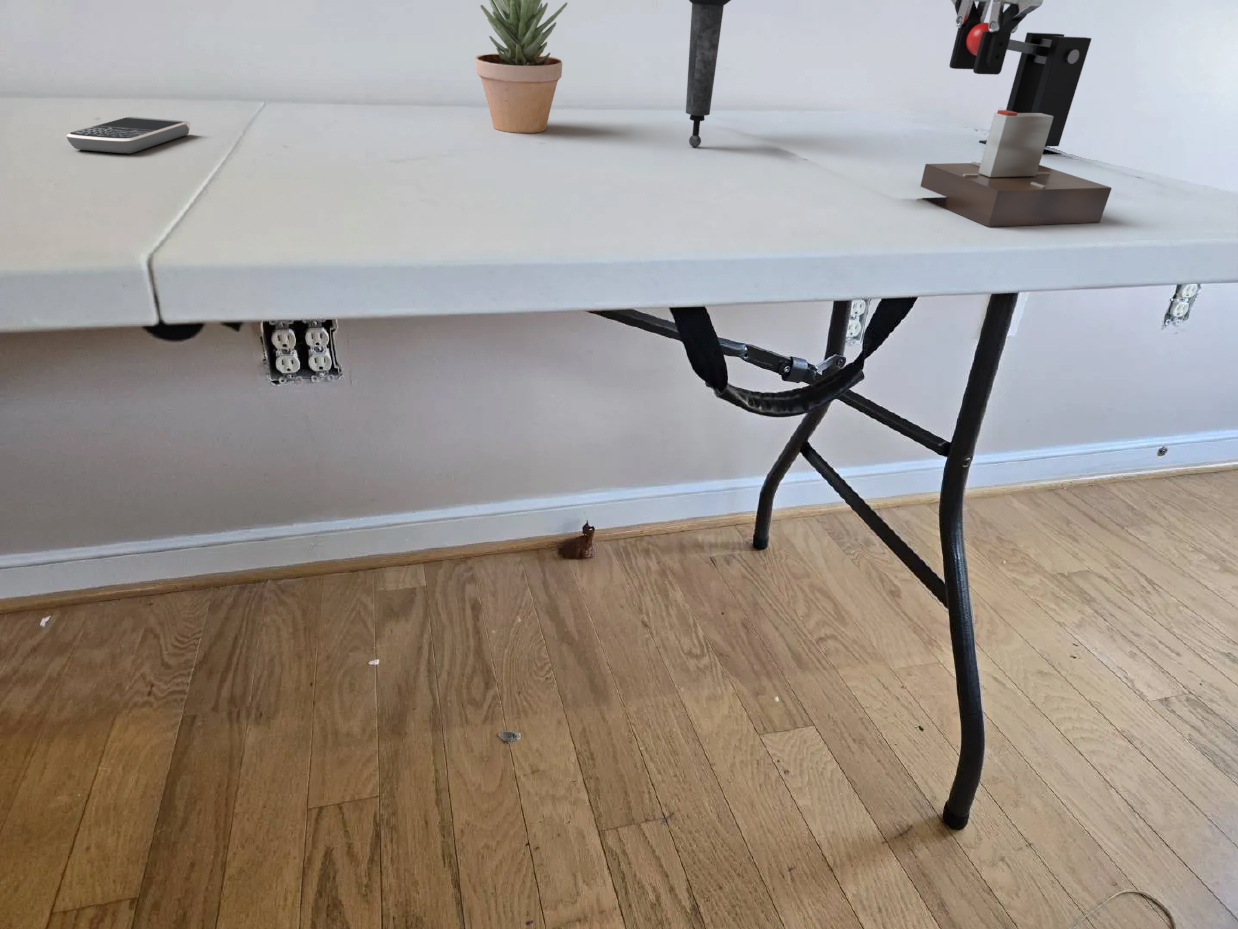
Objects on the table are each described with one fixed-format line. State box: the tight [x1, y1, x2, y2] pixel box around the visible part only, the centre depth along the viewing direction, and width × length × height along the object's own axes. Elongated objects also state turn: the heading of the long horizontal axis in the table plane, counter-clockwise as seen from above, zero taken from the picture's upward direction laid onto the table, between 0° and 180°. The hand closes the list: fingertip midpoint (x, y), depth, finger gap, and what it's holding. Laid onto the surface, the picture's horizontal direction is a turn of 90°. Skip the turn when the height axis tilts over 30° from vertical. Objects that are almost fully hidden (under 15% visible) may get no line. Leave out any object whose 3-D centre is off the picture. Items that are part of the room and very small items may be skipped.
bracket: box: [978, 32, 1092, 156], centre depth 96 cm, size 8×7×13 cm
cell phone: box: [66, 116, 191, 155], centre depth 80 cm, size 6×11×1 cm, turn 174°
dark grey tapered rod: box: [685, 0, 732, 148], centre depth 89 cm, size 7×7×20 cm
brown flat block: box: [920, 161, 1113, 228], centre depth 76 cm, size 12×10×3 cm
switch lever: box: [966, 22, 1052, 64], centre depth 92 cm, size 13×3×3 cm, turn 108°
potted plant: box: [475, 0, 568, 134], centre depth 91 cm, size 10×10×25 cm
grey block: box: [978, 109, 1053, 177], centre depth 74 cm, size 5×2×5 cm, turn 108°
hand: (974, 69), depth 92 cm, fingers closed on switch lever, 3 cm apart
